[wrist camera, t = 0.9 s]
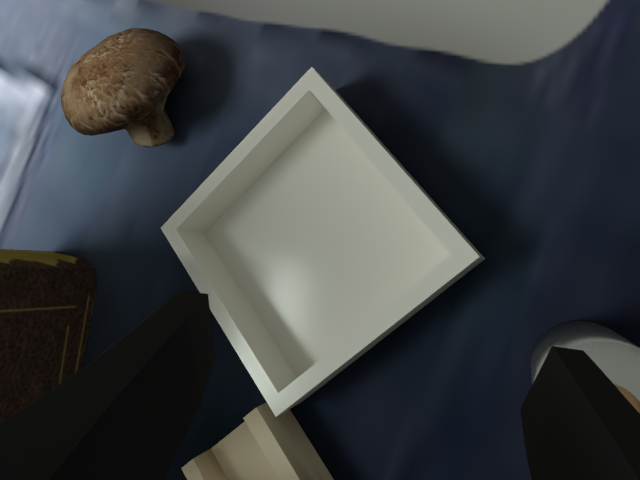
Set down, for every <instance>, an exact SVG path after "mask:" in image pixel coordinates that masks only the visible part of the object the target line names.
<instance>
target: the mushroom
mask: <svg viewBox="0 0 640 480" xmlns="http://www.w3.org/2000/svg"><path fill="white" fill-rule="evenodd" d="M184 69H185V61H184V55H183V52H182V50H181V48H180V47H179V46H178V45H177V43H176V42H175V41H174V40H172V39H171V38H169V37H168V36H166V35H165V34H162V33H160V32H157V31H154V30H150V29H138V28H132V29H128V30H125V31H122V32H120V33H117V34H114V35H112V36H109V37H107V38H106V39H104V40H103V41H102V42H100V43H99V44H98V45H96V46H95V47H93V48H92V49H90V50H89V51H88V52H86V53H85V54H83V55H82V56H81V57H80V58H79V59H78V60H77V61H76V62H75V63H74V64H73V65H72V66H71V68H70V70H69V72H68V74H67V77H66V79H65V81H64V84H63V88H62V95H61V103H62V109H63V112H64V114H65V117H66V119H67V121H68V122H69V124H70V125H71V126H72V127H73V128H74V129H75V130H76V131H77V132H79V133H82V134H84V135H91V136H92V135H98V134H104V133H109V132H113V131H118V130H122V129H126V130H127V132H128V133H129V135H130V137H131V138H132V140H133V141H134V143H135V144H137V145H140V146H143V147H155V146H159V145H162V144H164V143H167V142H169V141H170V140H171V139H172V138H173V137H174V132H175V130H174V128H173V126H172V124H171V122H170V120H169V117H168V115H167V113H166V110H165V107H164V105H165V102H166V99H167V96H168V94H169V93H170V92H171V90H172V89H173V88H174V86H175V85H176V83H177V81H178V80H179V78H180V76H181V75H182V73H183V71H184Z"/></svg>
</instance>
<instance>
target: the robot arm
mask: <svg viewBox="0 0 640 480" xmlns="http://www.w3.org/2000/svg"><path fill="white" fill-rule="evenodd" d="M214 360H215V354H214V345H213V336H212V326H211V317H210V308H209V298H208V294H205V293H198V292H192V291H185V290H181V291H179V292H178V293H177V294H175V295H174V296H173V297H172V298H170V299H169V300H168V301H167V302H165V303H164V304H163V305H162V306H160V307H159V308H158V309H157V310H155V311H154V312H153V313H152V314H151V315H149V316H148V317H147V318H146V319H144V320H143V321H142V322H141V323H139V324H138V325H137V326H136V327H135V328H133V329H132V330H131V331H130V332H128V333H127V334H126V335H125V336H123V337H122V338H121V339H119V340H118V341H117V342H116V343H114V344H113V345H112V346H110V347H109V348H108V349H106V350H105V351H104V352H103V353H101V354H100V355H99V356H97V357H96V358H95V359H94V360H92V361H91V362H90V363H88V364H87V365H85V366H84V367H83V368H81V369H80V370H78V371H77V372H76V373H74V374H73V375H71V376H70V377H69V378H67V379H66V380H64V381H63V382H62V383H60V384H59V385H58V386H56V387H55V388H53V389H52V390H51V391H49V392H48V393H46V394H45V395H43V396H42V397H40V398H39V399H37V400H36V401H34V402H33V403H31V404H30V405H28V406H27V407H25V408H24V409H22V410H21V411H19V412H18V413H16V414H14V415H13V416H11V417H10V418H8V419H6V420H5V421H3V422H1V423H0V480H162V479H163V477H164V475H165V473H166V471H167V469H168V467H169V465H170V463H171V461H172V459H173V457H174V455H175V453H176V451H177V449H178V447H179V445H180V443H181V440H182V438H183V436H184V434H185V432H186V430H187V428H188V426H189V424H190V422H191V420H192V418H193V416H194V413H195V411H196V409H197V407H198V405H199V403H200V400H201V398H202V395H203V392H204V389H205V386H206V384H207V381H208V378H209V375H210V372H211V369H212V366H213V363H214ZM521 417H522V426H523V435H524V442H525V449H526V455H527V461H528V465H529V469H530V473H531V477H532V480H640V413H639V412H638V411H637V410H636V409H635V408H634V407H633V405H632V404H631V403H630V402H629V401H628V400H627V399H626V398H625V396H624V395H623V394H622V393H621V392H620V391H619V390H618V388H617V387H616V386H615V385H614V384H613V383H612V382H611V380H610V379H609V378H608V377H607V376H606V375H605V374H604V372H603V371H602V370H601V369H600V368H599V367H598V366H597V365H596V364H595V362H594V361H593V360H592V359H591V358H590V357H589V356H588V355H587V354H586V353H585V352H584V351H583V350H576V349H570V348H563V347H556V346H552V347H551V349H550V351H549V353H548V355H547V357H546V359H545V361H544V363H543V365H542V367H541V369H540V371H539V373H538V375H537V377H536V379H535V381H534V383H533V385H532V387H531V389H530V391H529V393H528V395H527V397H526V399H525V401H524V403H523V405H522V407H521Z"/></svg>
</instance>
